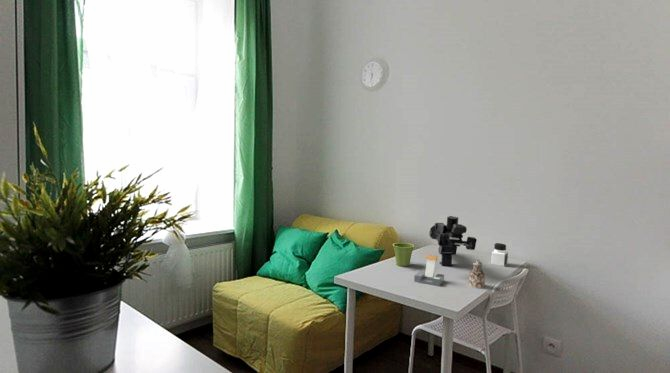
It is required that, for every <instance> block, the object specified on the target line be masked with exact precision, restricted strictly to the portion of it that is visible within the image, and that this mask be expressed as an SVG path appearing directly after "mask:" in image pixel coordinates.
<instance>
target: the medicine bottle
mask: <svg viewBox="0 0 670 373" xmlns="http://www.w3.org/2000/svg"><path fill="white" fill-rule="evenodd" d="M493 249H494V250H493V251H492V252H491V258H490V259H491V260H490V261H491V262H490V264H491V265H492V266H493V265H494V266H498V267H504V268H505V266H506V265H508V257H509V252H508V251H507V244H505V243H503V242H496V243H494V248H493Z"/></svg>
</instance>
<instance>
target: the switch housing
mask: <svg viewBox="0 0 670 373" xmlns="http://www.w3.org/2000/svg"><path fill="white" fill-rule="evenodd" d="M413 279H414V280H413V281H414V282H416V283H422V284H427V285H432V286H437V287H440V286H441V285H442V284H443V282H445V274H443V273H436V274H435V275H434V278H431V277H425V270H419V271H418V272H417V273H415V274H414V278H413Z"/></svg>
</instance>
